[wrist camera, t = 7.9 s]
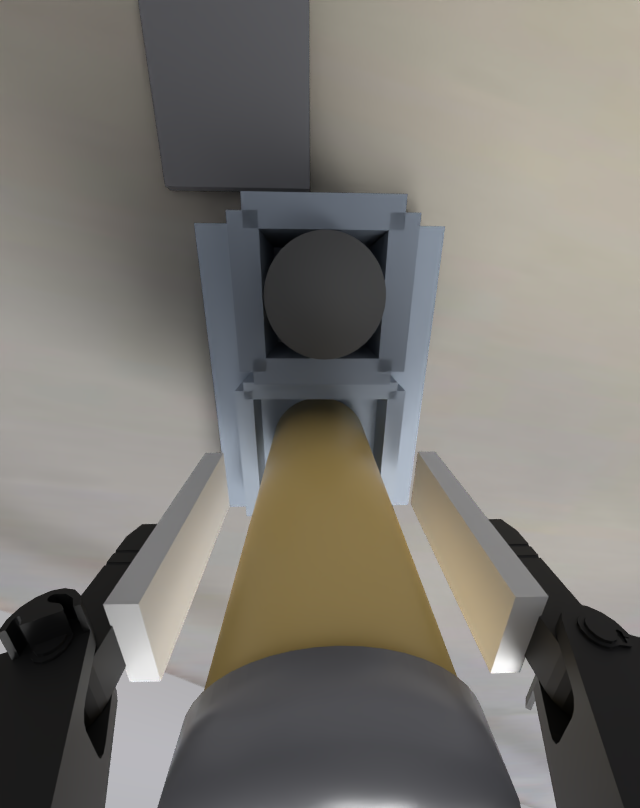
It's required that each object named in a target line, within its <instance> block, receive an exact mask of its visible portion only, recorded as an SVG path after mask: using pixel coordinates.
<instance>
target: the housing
mask: <svg viewBox="0 0 640 808" xmlns="http://www.w3.org/2000/svg"><path fill="white" fill-rule="evenodd" d="M240 196H241V210H226V222H227V223H194V227H195V235H196V243H197V252H198V260H199V268H200V276H201V285H202V293H203V301H204V310H205V318H206V326H207V334H208V343H209V351H210V359H211V367H212V376H213V384H214V392H215V400H216V409H217V417H218V425H219V433H220V442H221V450H222V453H224V462H225V470H226V479H227V487H228V495H229V504H230V506H229V507H235V506H246V514H247V516H252V514H253V510H254V506H255V503H256V499H257V495H258V492H259V488H260V484H261V481H262V477H263V473H264V470H265V466H266V462H267V459H268V455H269V451H270V448H271V444H272V441H273V437H274V433H275V430H276V426H277V424H278V422H279V420H280V418H281V417H282V415H283V414H284V413H285V412H286V411H287V410H288V409H289V408H290V407H291V406H293V405H295V404H296V403H298V402H300V401H303V400H306V399H333V400H336V401H339V402H341V403H343V404H345V405H346V406H348V407H349V408H350V409H351V410H352V411H353V412H354V413H355V414H356V415H357V417H358V418H359V420H360V422H361V424H362V427H363V430H364V432H365V435H366V438H367V440H368V443H369V446H370V448H371V451H372V454H373V456H374V459H375V461H376V464H377V467H378V469H379V472H380V475H381V477H382V480H383V483H384V485H385V488H386V490H387V493H388V496H389V498H390V501H391V504H392V506H393V505H408V500H409V493H410V485H411V478H412V470H413V463H414V455H415V448H416V440H417V433H418V425H419V418H420V410H421V403H422V395H423V388H424V381H425V373H426V366H427V358H428V351H429V343H430V336H431V328H432V321H433V313H434V306H435V298H436V291H437V283H438V276H439V268H440V261H441V253H442V246H443V238H444V231H445V227H443V226H420V221H421V213H406V205H407V194H379V193H320V192H260V191H240ZM316 230H335V231H340V232H343V233H346V234H348V235H351V236H353V237H354V238H356V239H358V240H359V241H360V242H362V243H363V244H364V245H365V246H366V247H367V248H368V249H369V250H370V251H371V252H372V254H373V255H374V256H375V258H376V259H377V261H378V263H379V265H380V267H381V270H382V273H383V276H384V280H385V286H386V302H385V309H384V313H383V316H382V319H381V321H380V324H379V325H378V327H377V329H376V331H375V332H374V334H373V335H372V336H371V338H370V339H369V340H368V341H367V342H366V343H365V344H364V345H363V346H361V347H360V348H359V349H357V350H356V351H354V352H352V353H350V354H348V355H346V356H343V357H340V358H335V359H327V360H322V359H314V358H309V357H306V356H303V355H301V354H299V353H297V352H295V351H294V350H292V349H291V348H289V347H288V346H287V345H286V344H284V343H283V342H282V340H281V339H280V338H279V337H278V336H277V334H276V333H275V332H274V330H273V328H272V326H271V324H270V322H269V320H268V317H267V314H266V310H265V304H264V286H265V280H266V276H267V273H268V270H269V268H270V265H271V264H272V262H273V260H274V258H275V257H276V255H277V254H278V253H279V252H280V250H281V249H282V248H283V247H284V246H285V245H286V244H288V243H289V242H290V241H292V240H293V239H294V238H296V237H298V236H300V235H302V234H305V233H307V232H311V231H316Z"/></svg>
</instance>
